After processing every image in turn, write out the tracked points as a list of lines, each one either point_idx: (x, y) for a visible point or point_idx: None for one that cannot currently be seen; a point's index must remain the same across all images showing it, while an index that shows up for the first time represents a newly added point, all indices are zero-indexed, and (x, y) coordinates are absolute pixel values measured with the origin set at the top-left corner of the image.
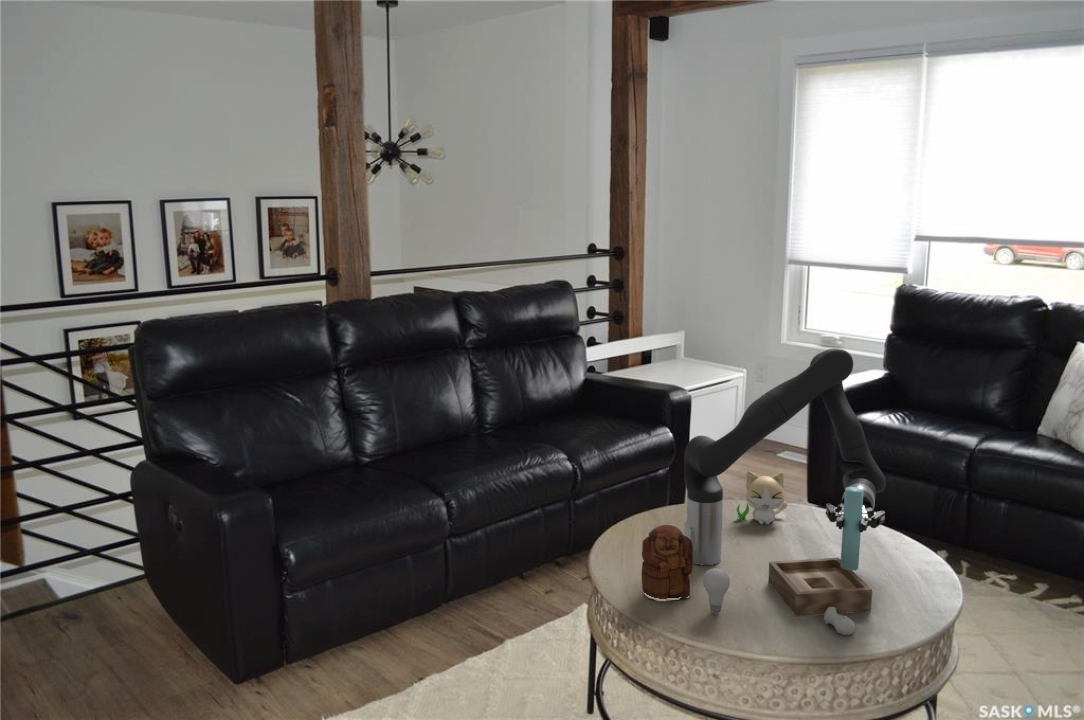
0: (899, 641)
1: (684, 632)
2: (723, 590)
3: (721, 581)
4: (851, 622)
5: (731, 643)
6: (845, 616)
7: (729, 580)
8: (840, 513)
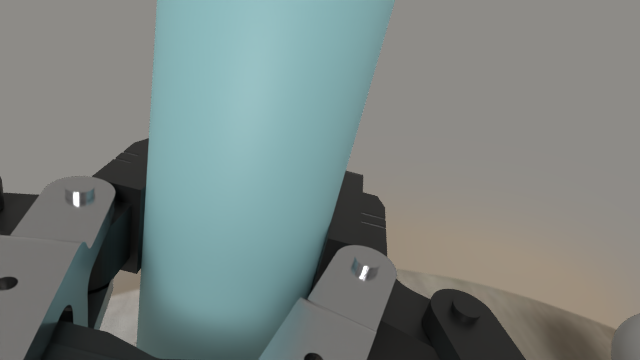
0: None
1: (591, 330)
2: (613, 337)
3: (635, 315)
4: None
5: (486, 299)
6: None
7: (630, 342)
8: (370, 251)
